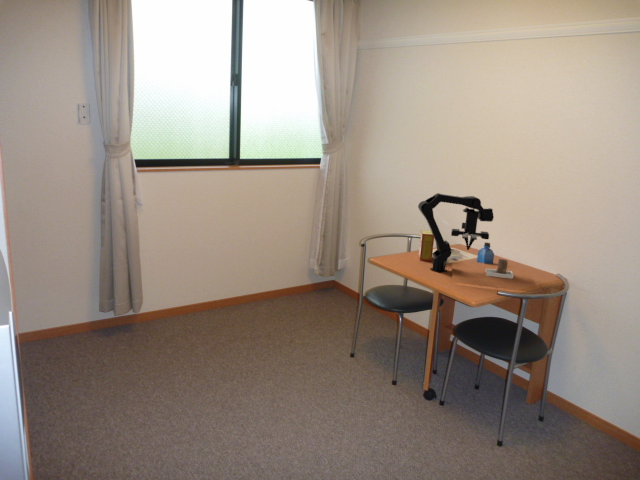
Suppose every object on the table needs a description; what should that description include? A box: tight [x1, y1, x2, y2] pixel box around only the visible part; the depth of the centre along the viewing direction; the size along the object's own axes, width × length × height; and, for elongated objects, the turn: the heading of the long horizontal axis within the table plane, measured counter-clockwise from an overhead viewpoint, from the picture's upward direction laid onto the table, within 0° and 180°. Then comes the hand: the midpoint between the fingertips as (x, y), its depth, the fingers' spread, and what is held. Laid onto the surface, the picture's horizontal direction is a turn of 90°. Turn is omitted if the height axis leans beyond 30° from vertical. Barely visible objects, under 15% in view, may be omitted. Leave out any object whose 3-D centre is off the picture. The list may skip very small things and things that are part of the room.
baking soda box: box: [418, 229, 435, 262], centre depth 275 cm, size 10×6×16 cm
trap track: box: [485, 268, 514, 280], centre depth 249 cm, size 13×7×3 cm, turn 75°
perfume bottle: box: [476, 242, 495, 265], centre depth 271 cm, size 6×6×12 cm
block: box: [496, 258, 508, 274], centre depth 248 cm, size 4×4×8 cm
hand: (467, 249), depth 254 cm, fingers closed
